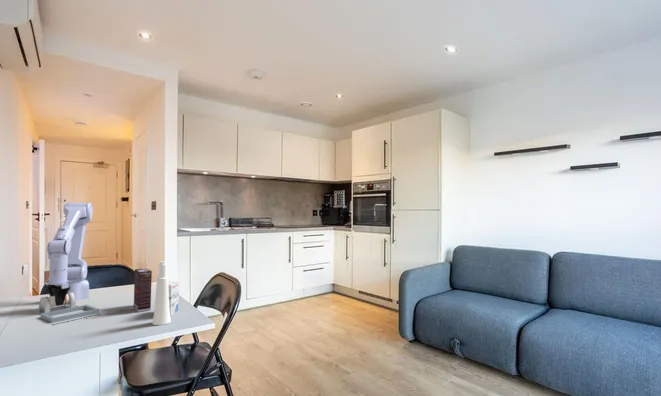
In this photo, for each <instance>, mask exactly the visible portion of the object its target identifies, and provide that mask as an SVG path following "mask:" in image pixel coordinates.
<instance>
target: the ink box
mask: <svg viewBox="0 0 661 396" xmlns="http://www.w3.org/2000/svg"><path fill="white" fill-rule="evenodd" d="M179 282H180V281H178V280H172V281H171V280H170V281H169V280H168V286H169V311H170V317H172V315H174V314H175V313H177V311H179V287H180V286H179V284H180V283H179Z"/></svg>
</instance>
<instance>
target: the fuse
mask: <svg viewBox="0 0 661 396" xmlns="http://www.w3.org/2000/svg"><path fill="white" fill-rule="evenodd" d="M71 301H75V296H74V293H73V292H71V293H67V295H66V297H65V301H64V304H63V305H65V304H67V305H69V304H71ZM39 303H40V308H41V309H45V306H48V305H50V308H52V307H57V306H56V303H55V296H52V297H50V296H42V297H40V299H39Z"/></svg>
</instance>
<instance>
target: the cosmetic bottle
mask: <svg viewBox="0 0 661 396" xmlns="http://www.w3.org/2000/svg"><path fill="white" fill-rule="evenodd" d="M168 281H169V277H168V264H167V260H161V261H159V264H158V276H157V278H156V285H155V286H156V287H155V300H154V301H155V302H154V312H153V318H152V322H151V323H152V326H153V325H154V326H165V325H167V324H170V323H171V322H172V319H171V316H170V311H169V286H168Z"/></svg>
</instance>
